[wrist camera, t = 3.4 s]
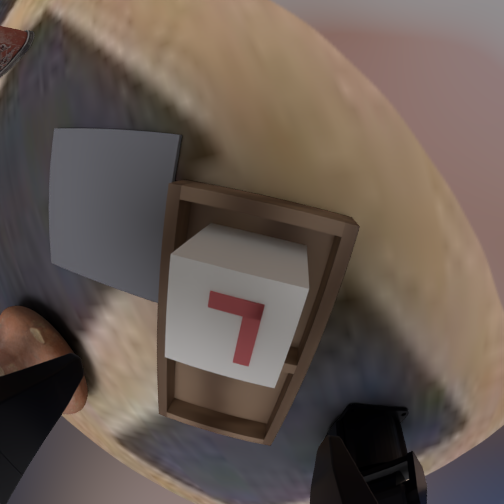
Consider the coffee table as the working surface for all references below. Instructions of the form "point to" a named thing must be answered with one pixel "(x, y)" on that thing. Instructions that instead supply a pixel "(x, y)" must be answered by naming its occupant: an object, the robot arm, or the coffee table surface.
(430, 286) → the coffee table surface
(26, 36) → the lighter
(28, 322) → the ceramic jug
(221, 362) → the letter cube
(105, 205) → the pad
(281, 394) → the tray
